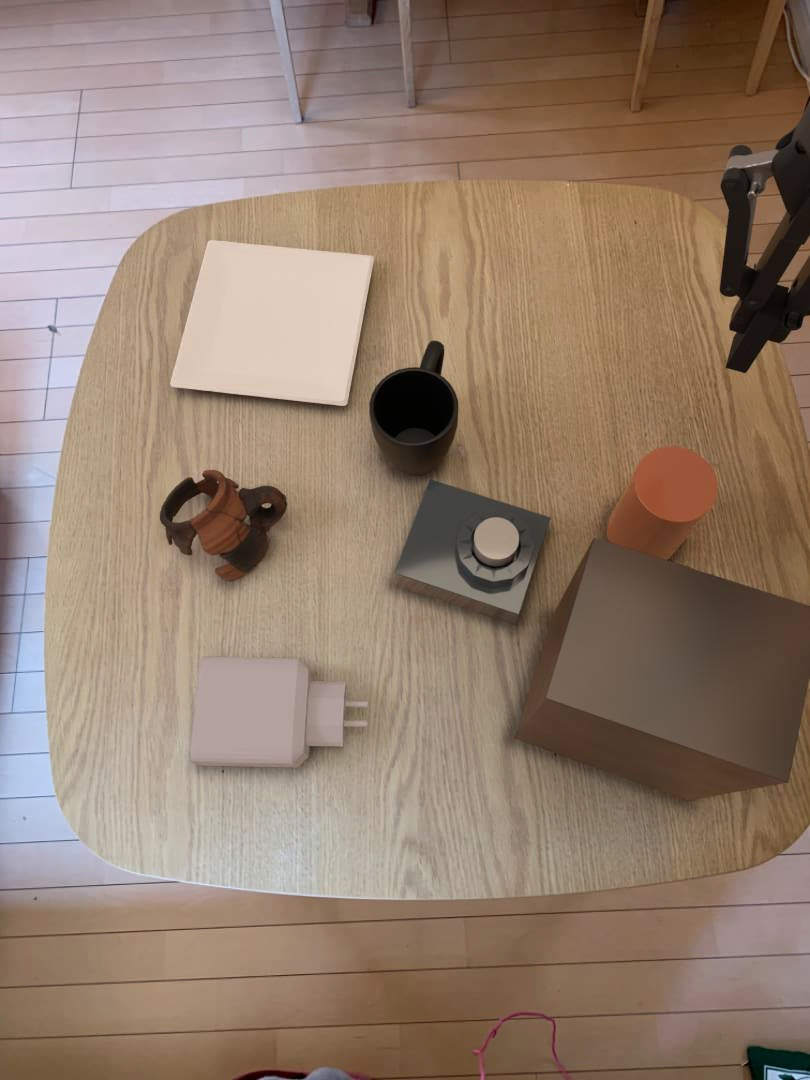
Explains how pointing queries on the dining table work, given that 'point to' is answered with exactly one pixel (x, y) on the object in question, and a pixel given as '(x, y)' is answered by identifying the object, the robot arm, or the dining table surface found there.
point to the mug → (415, 414)
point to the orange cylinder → (663, 502)
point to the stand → (670, 676)
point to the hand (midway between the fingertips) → (739, 355)
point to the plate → (274, 322)
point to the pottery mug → (225, 521)
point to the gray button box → (468, 553)
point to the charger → (265, 712)
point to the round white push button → (495, 541)
